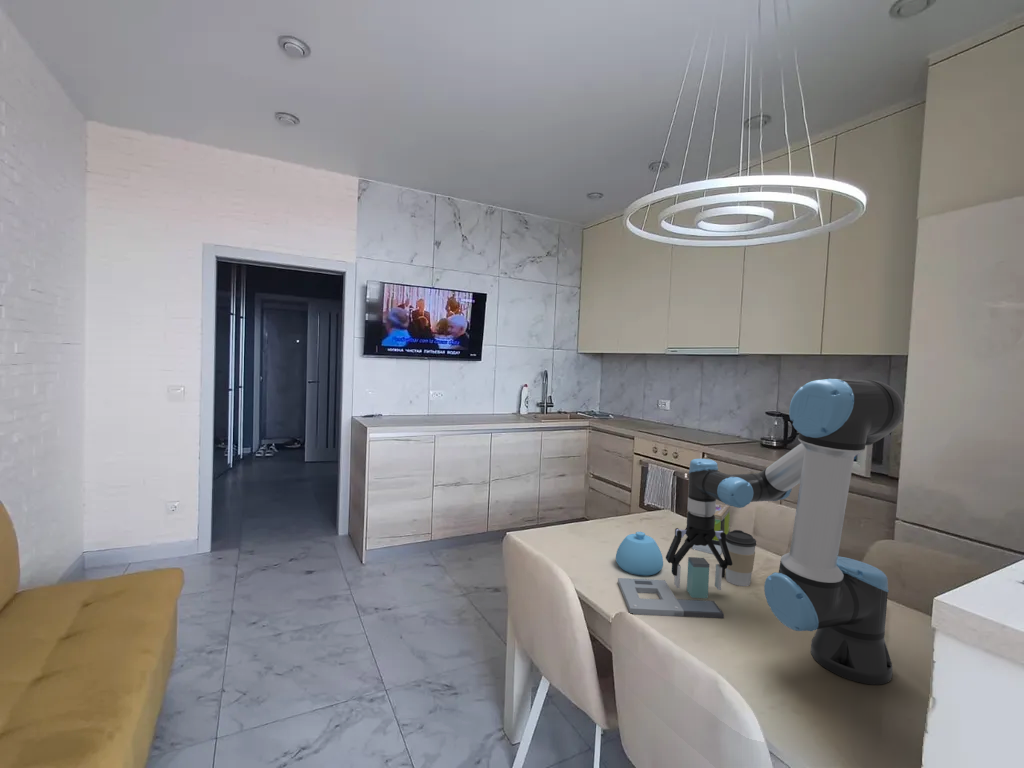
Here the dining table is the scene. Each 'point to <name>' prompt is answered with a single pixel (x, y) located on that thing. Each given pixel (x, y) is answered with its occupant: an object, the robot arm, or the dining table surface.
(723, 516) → the tea box
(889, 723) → the dining table surface
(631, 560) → the sugar bowl
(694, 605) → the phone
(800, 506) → the robot arm
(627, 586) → the outlet plate
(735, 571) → the coffee cup
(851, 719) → the dining table surface
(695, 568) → the charger block
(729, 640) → the dining table surface
